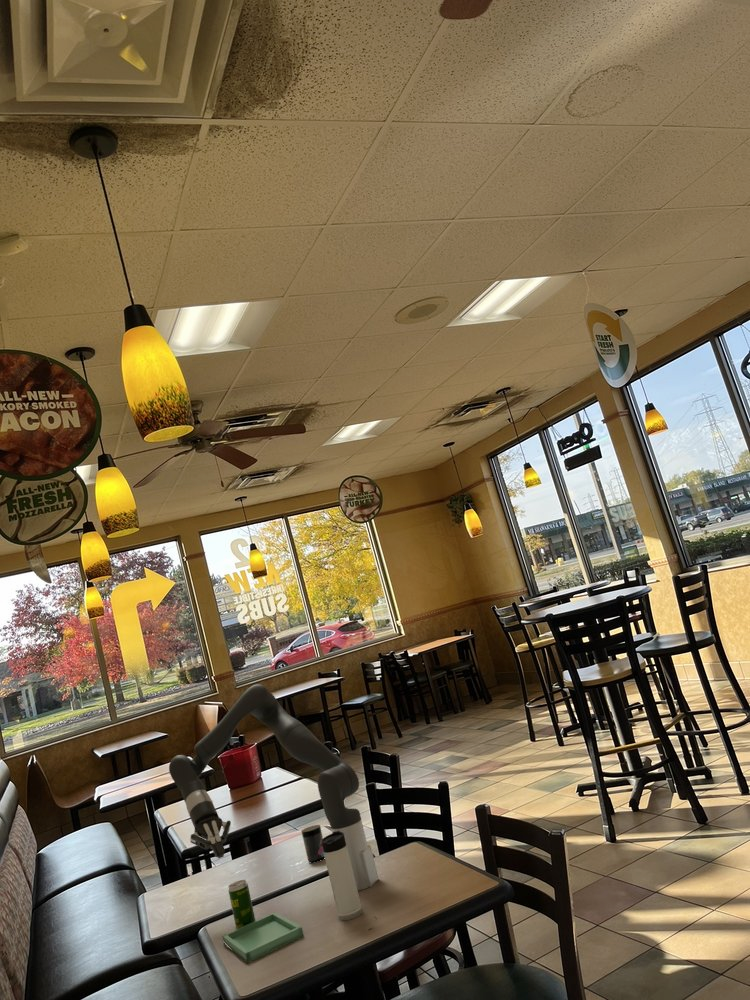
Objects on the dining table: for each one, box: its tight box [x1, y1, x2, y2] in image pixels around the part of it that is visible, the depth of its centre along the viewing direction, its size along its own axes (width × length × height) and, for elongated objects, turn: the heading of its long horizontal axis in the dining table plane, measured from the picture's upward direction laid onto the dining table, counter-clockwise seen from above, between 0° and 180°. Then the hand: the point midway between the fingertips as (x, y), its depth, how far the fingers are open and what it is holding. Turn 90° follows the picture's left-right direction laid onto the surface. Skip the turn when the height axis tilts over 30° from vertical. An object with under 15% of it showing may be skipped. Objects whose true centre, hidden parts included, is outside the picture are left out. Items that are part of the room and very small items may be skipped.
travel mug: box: [321, 831, 363, 921], centre depth 190 cm, size 6×7×20 cm
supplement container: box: [301, 824, 325, 864], centre depth 249 cm, size 7×7×10 cm
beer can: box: [228, 879, 257, 930], centre depth 199 cm, size 5×5×12 cm
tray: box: [221, 911, 305, 964], centre depth 187 cm, size 20×15×2 cm
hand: (221, 855), depth 210 cm, fingers closed
